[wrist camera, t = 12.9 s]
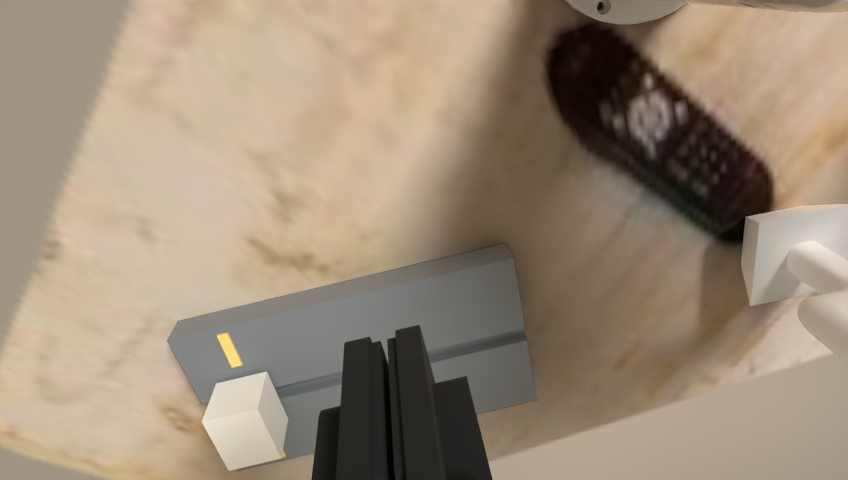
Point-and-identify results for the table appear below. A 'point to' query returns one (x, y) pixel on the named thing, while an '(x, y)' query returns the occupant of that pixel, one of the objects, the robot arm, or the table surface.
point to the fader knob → (246, 421)
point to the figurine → (802, 266)
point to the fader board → (369, 317)
